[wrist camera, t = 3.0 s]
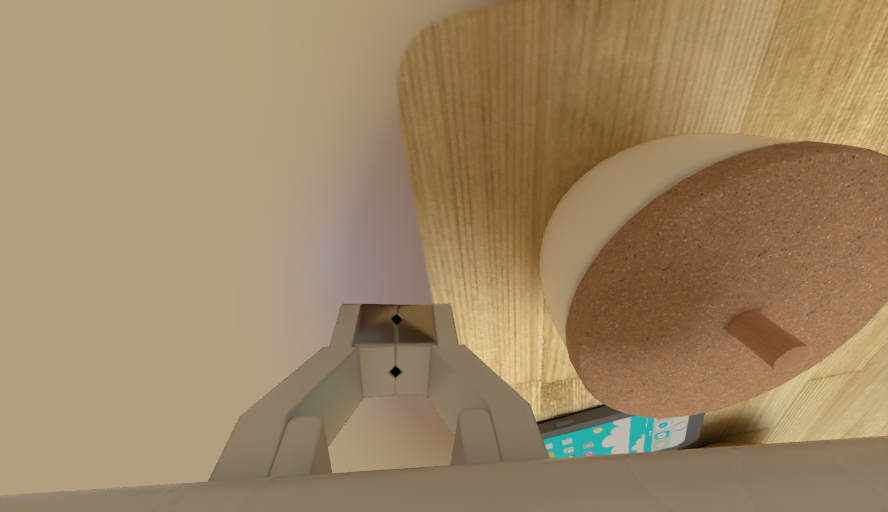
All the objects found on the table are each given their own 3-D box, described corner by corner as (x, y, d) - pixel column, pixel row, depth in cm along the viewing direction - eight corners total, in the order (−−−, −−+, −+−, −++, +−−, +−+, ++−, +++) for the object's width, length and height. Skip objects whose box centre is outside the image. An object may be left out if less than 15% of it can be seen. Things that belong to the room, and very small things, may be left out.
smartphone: (698, 447, 28) (535, 489, 29) (690, 436, 29) (531, 477, 30) (712, 389, 24) (519, 440, 25) (702, 378, 25) (516, 428, 26)
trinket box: (741, 93, 14) (1178, 125, 6) (682, 285, 20) (871, 433, 12) (506, 131, 14) (640, 215, 6) (512, 314, 20) (586, 485, 12)
